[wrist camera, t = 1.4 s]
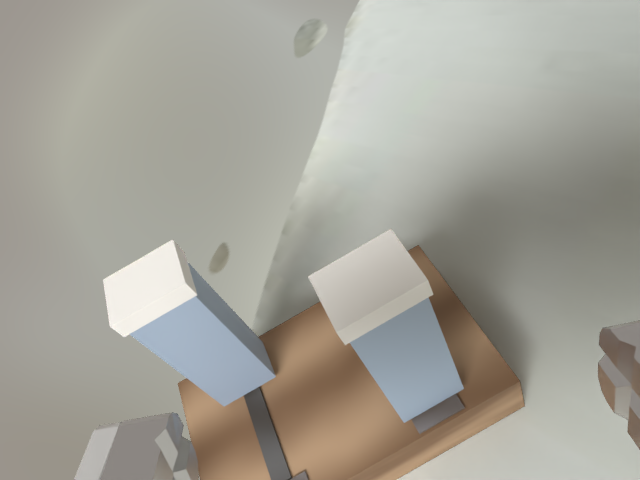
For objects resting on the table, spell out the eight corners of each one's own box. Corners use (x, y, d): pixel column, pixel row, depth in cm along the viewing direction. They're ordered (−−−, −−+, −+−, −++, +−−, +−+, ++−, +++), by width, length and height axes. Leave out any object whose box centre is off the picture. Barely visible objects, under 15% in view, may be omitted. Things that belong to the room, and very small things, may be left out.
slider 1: (279, 377, 37) (185, 282, 28) (222, 410, 37) (109, 326, 28) (264, 338, 39) (173, 239, 30) (210, 369, 39) (103, 279, 30)
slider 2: (468, 389, 32) (427, 279, 23) (402, 427, 32) (336, 332, 23) (438, 344, 34) (391, 228, 25) (377, 379, 34) (307, 276, 25)
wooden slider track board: (524, 406, 35) (519, 379, 32) (248, 564, 35) (216, 553, 32) (427, 271, 43) (415, 240, 40) (204, 400, 43) (175, 378, 40)
